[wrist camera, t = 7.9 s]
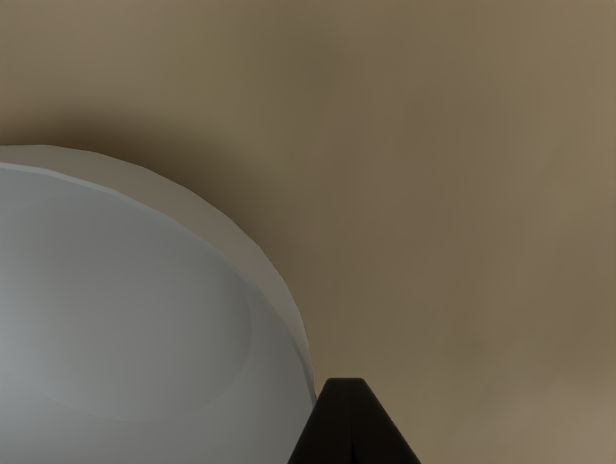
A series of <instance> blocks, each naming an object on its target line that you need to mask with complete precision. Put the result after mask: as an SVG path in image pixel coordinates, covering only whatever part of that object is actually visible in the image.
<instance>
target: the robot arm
mask: <svg viewBox="0 0 616 464" xmlns="http://www.w3.org/2000/svg"><path fill="white" fill-rule="evenodd" d="M287 464H421V462H420V461H419V459H418V458H417V457H416V455H415V454H414V452H413V451H412V449H411V448H410V446H409V445H408V443H407V442H406V440H405V439H404V437H403V436H402V435H401V433H400V432H399V430H398V429H397V427H396V426H395V424H394V423H393V421H392V420H391V418H390V417H389V415H388V414H387V412H386V411H385V410H384V408H383V407H382V405H381V404H380V402H379V401H378V399H377V398H376V396H375V395H374V393H373V392H372V390H371V389H370V387H369V386H368V385H367V383H366V382H365V380H364V379H362V378H329V379H328V380H327V381H326V383H325V385H324V387H323V389H322V391H321V393H320V395H319V397H318V400H317V402H316V404H315V406H314V408H313V410H312V412H311V414H310V416H309V418H308V421H307V423H306V425H305V427H304V429H303V431H302V433H301V435H300V437H299V439H298V441H297V444H296V446H295V448H294V450H293V452H292V454H291V456H290V458H289V460H288V462H287Z"/></svg>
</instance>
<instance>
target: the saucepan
mask: <svg viewBox="0 0 616 464" xmlns="http://www.w3.org/2000/svg"><path fill="white" fill-rule="evenodd" d="M316 402H317V398H316V394H315V388H314V369H313V364H312V360H311V355H310V350H309V346H308V342H307V338H306V334H305V330H304V326H303V322H302V318H301V314H300V312H299V310H298V308H297V306H296V304H295V302H294V300H293V297H292V295H291V293H290V291H289V289H288V287H287V285H286V283H285V281H284V280H283V278H282V277H281V275H280V274H279V273H278V271H277V270H276V269H275V267H274V266H273V264H272V263H271V262H270V260H269V259H268V258H267V256H266V255H265V253H264V252H263V251H262V249H261V248H260V247H259V246H258V245H257V244H256V243H255V242H254V241H253V240H252V239H251V238H250V237H249V236H248V235H246V234H245V233H244V232H243V231H242V230H241V229H240V228H239V227H238V226H237V225H236V224H235V223H234V222H233V221H232V220H231V219H230V218H229V217H228V216H226V215H225V214H223V213H222V212H221V211H219V210H218V209H216V208H215V207H213V206H212V205H211V204H209V203H208V202H206V201H205V200H203V199H202V198H201V197H199V196H198V195H196V194H195V193H193V192H192V191H191V190H189V189H187V188H185V187H183V186H181V185H179V184H177V183H175V182H173V181H171V180H169V179H167V178H165V177H163V176H161V175H159V174H157V173H155V172H153V171H151V170H149V169H146V168H144V167H141V166H138V165H135V164H132V163H129V162H125V161H122V160H119V159H116V158H113V157H110V156H106V155H103V154H100V153H97V152H91V151H85V150H78V149H71V148H64V147H58V146H51V145H5V146H0V464H287V462H288V460H289V458H290V456H291V454H292V452H293V450H294V448H295V446H296V444H297V441H298V439H299V437H300V435H301V433H302V431H303V429H304V427H305V425H306V423H307V421H308V418H309V416H310V414H311V412H312V410H313V408H314V406H315V404H316Z"/></svg>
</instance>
